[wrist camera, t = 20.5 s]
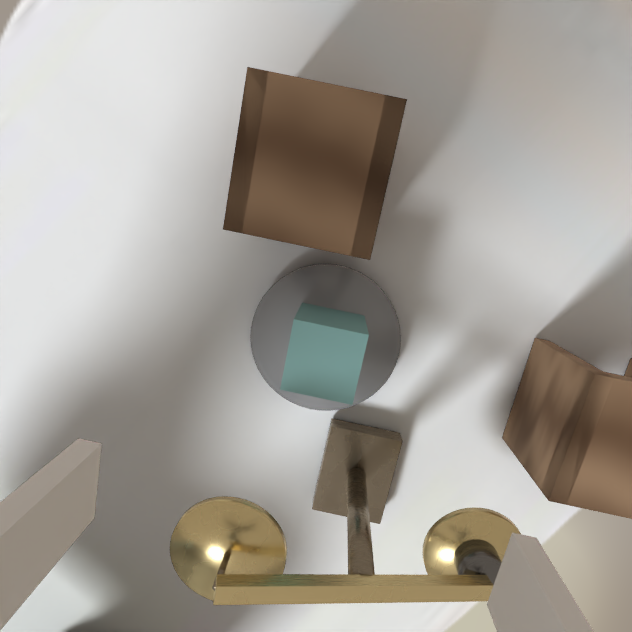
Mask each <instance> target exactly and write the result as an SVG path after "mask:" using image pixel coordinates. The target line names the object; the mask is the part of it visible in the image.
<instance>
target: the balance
mask: <svg viewBox="0 0 632 632" xmlns="http://www.w3.org/2000/svg"><path fill="white" fill-rule="evenodd" d="M401 445H402V438H401V435H400V433H398V432H393V431H388V430H384V429H379V428H374V427H370V426H365V425H360V424H356V423H351V422H346V421H342V420H337V419H331V423H330V428H329V432H328V437H327V441H326V445H325V450H324V454H323V459H322V463H321V467H320V472H319V476H318V480H317V485H316V489H315V494H314V498H313V507H312V509H314V510H318V511H323V512H327V513H332V514H336V515H341V516H346V517H347V526H348V575H314V574H283V571H284V568H285V562H286V556H287V546H286V540H285V537H284V534H283V532H282V529H281V527H280V526H279V524H278V523H277V521H276V520H275V519H274V518H273V517H272V516H271V515H270V514H269V513H268V512H267V511H266V510H264V509H263V508H261V507H260V506H258V505H256V504H255V503H252V502H250V501H247V500H244V499H241V498H236V497H214V498H209V499H206V500H203V501H201V502H199V503H197V504H195V505H194V506H192V507H191V508H190V509H188V510H187V511H186V512H185V513H184V515H183V516H182V517H181V519H180V520H179V522H178V524H177V526H176V527H175V529H174V531H173V534H172V537H171V541H170V556H171V560H172V564H173V566H174V569H175V570H176V572H177V574H178V576H179V577H180V578H181V580H182V581H183V582H184V583H185V584H186V585H187V586H188V587H189V588H190V589H192V590H193V591H194V592H196V593H197V594H199V595H201V596H203V597H205V598H207V599H210V600H212V601H213V605H251V604H322V603H393V602H465V601H488V600H489V597H490V594H491V591H492V588H493V585H494V583H495V580H496V577H497V574H498V571H499V568H500V566H501V563H502V560H503V557H504V554H505V551H506V549H507V546H508V543H509V540H510V537H511V534H512V533H516V534H521V533H520V532H519V530H518V528H517V527H516V526H515V524H514V523H513V522H512V521H511V520H509V519H508V518H507V517H505V516H504V515H502V514H500V513H498V512H495V511H493V510H489V509H484V508H465V509H460V510H457V511H453V512H451V513H449V514H447V515H445V516H444V517H442V518H441V519H439V520H438V521H437V522H436V523H435V524H434V525H433V526H432V527H431V529H430V530H429V531H428V533H427V535H426V537H425V540H424V544H423V559H424V563H425V568H426V571H427V573H428V575H375V574H374V563H373V552H372V541H371V529H370V522H373V523H378V524H380V522H381V519H382V515H383V511H384V508H385V504H386V500H387V496H388V493H389V489H390V485H391V482H392V478H393V474H394V471H395V467H396V463H397V460H398V456H399V452H400V449H401Z"/></svg>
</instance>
